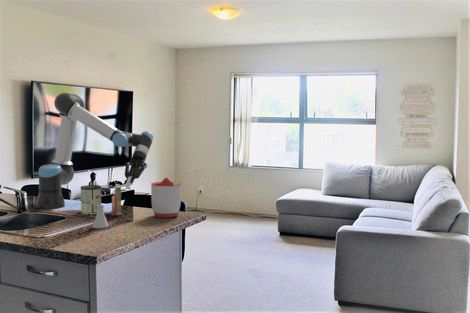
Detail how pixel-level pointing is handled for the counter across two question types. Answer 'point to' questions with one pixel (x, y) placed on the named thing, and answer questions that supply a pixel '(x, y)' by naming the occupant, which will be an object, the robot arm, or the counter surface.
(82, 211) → the coffee can
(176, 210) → the citrus juicer
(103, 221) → the flask
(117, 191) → the brown beige flat square
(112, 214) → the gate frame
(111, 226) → the counter surface
